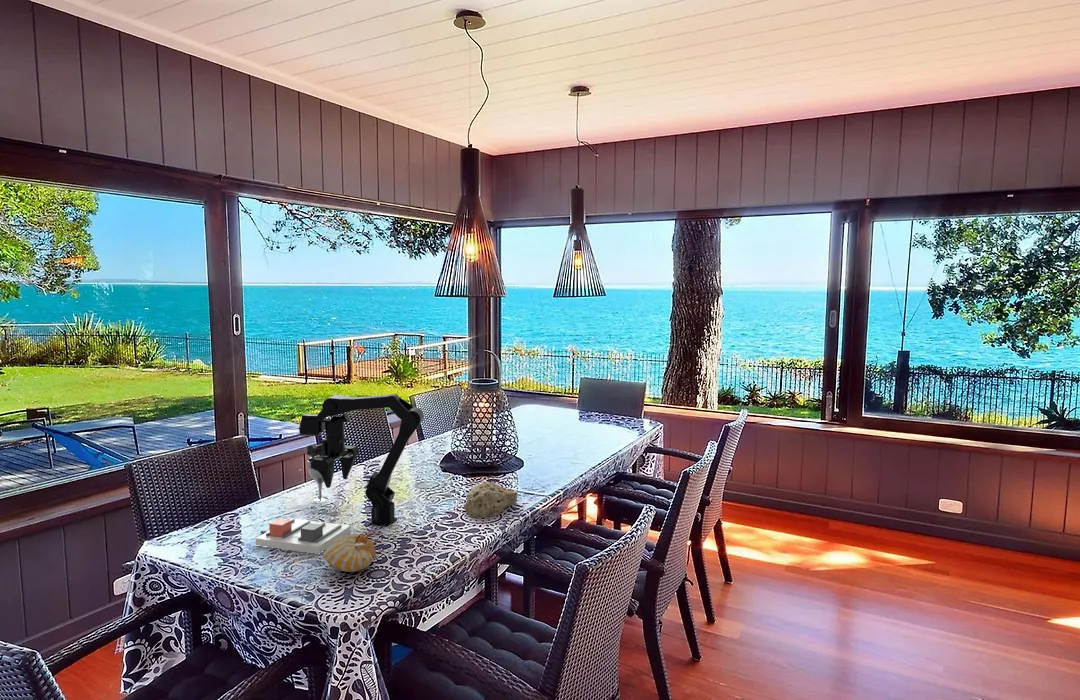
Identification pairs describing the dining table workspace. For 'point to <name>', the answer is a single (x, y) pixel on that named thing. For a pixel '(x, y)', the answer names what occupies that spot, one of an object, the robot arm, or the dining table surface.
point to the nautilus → (351, 552)
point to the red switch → (280, 527)
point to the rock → (488, 500)
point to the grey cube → (311, 532)
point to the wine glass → (316, 479)
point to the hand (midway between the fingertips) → (336, 483)
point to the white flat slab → (295, 543)
